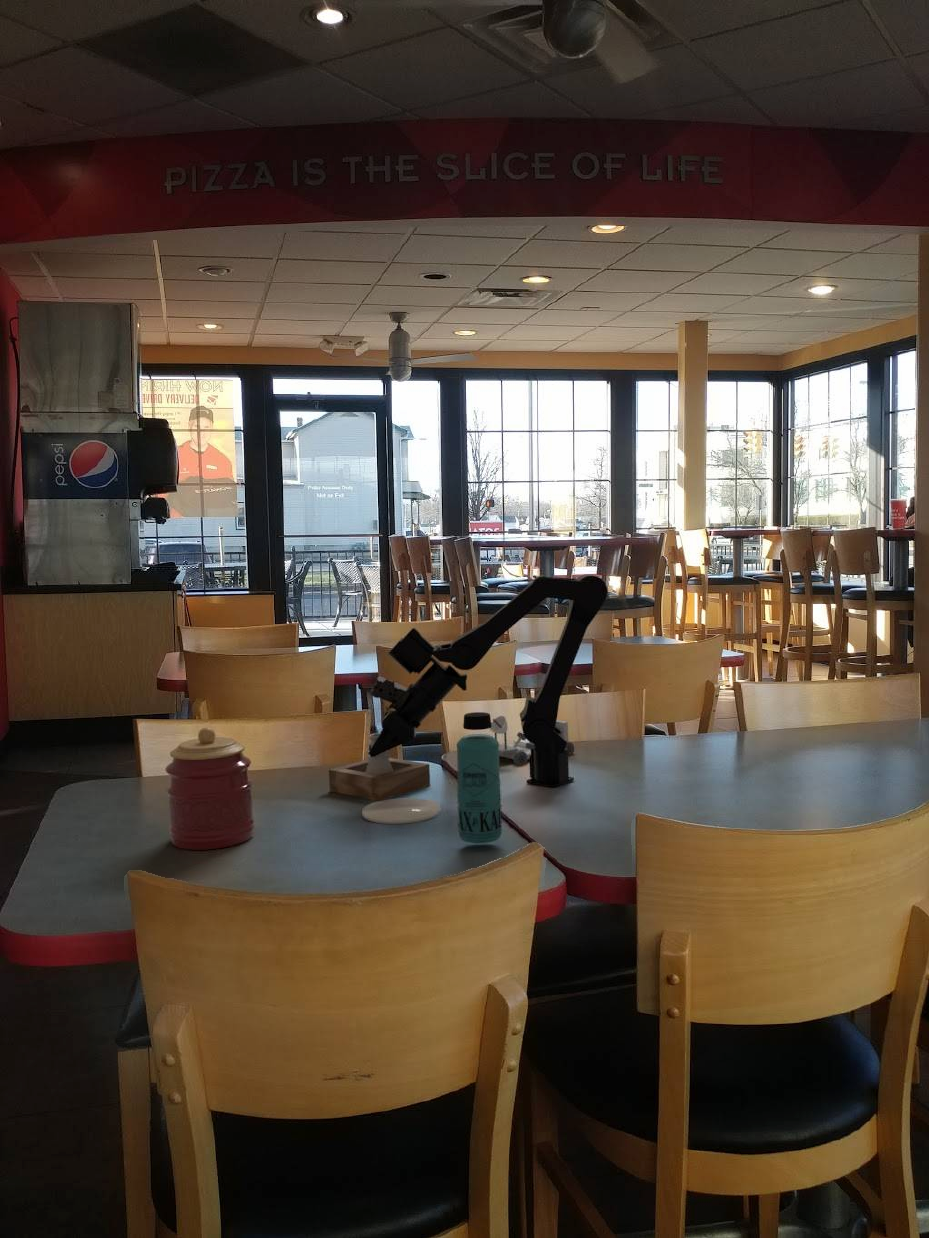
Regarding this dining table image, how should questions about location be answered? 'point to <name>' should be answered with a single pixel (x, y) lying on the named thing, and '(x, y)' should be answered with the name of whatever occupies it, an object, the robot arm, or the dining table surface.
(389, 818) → the ceramic plate
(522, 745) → the toy car
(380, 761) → the flask
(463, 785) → the beverage bottle
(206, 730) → the canister
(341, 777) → the walnut collar
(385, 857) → the dining table surface
